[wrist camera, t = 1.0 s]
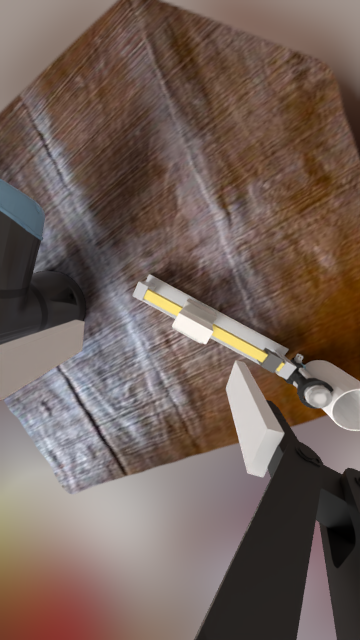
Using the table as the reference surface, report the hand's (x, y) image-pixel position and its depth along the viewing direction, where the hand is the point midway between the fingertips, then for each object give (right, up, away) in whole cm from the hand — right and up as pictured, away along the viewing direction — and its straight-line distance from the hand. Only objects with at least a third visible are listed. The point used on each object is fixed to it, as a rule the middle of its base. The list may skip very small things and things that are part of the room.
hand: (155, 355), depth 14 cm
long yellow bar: (+9, +1, +20) cm, 22 cm away
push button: (+27, -7, +24) cm, 37 cm away
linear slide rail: (+9, +2, +24) cm, 25 cm away
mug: (+34, -10, +23) cm, 43 cm away
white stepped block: (+5, +4, +21) cm, 22 cm away
